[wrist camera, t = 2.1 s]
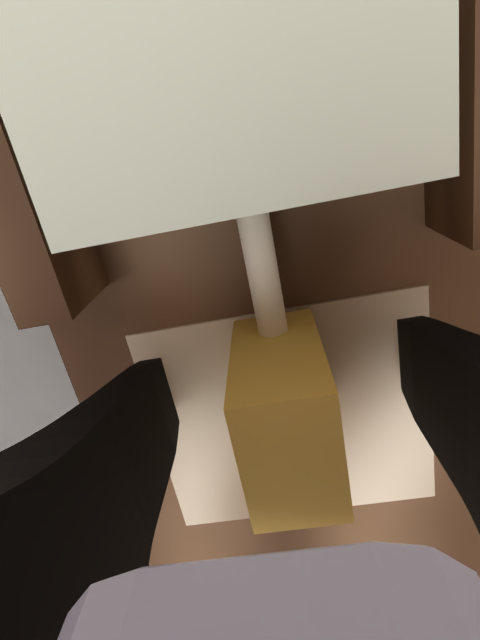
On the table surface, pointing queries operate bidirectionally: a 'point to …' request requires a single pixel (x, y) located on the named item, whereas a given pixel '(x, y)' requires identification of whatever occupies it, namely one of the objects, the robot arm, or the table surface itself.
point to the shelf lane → (298, 294)
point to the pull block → (234, 169)
